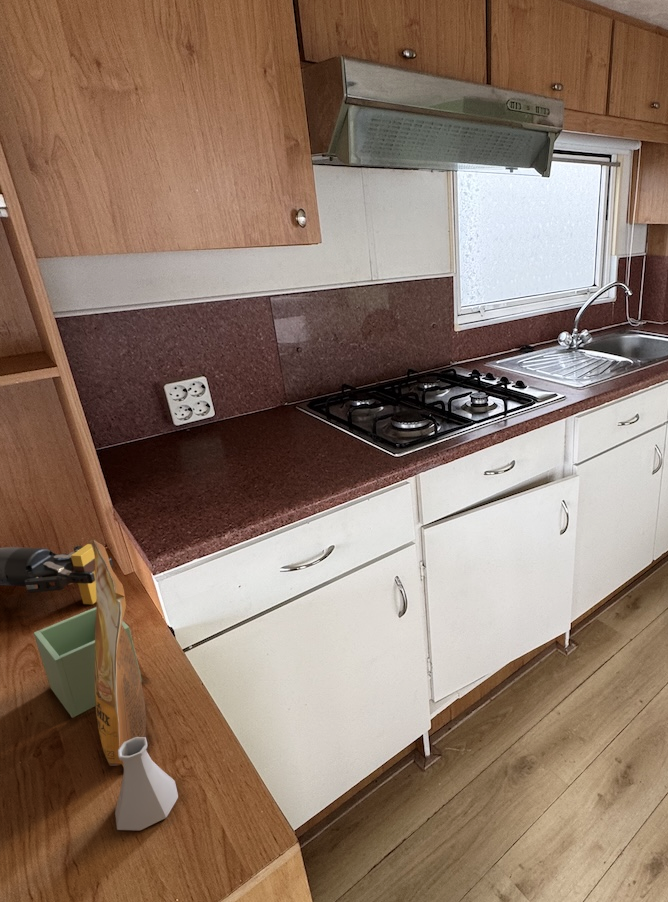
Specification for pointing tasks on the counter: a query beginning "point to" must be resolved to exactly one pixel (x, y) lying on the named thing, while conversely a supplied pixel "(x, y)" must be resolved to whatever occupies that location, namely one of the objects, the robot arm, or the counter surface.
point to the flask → (142, 788)
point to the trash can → (72, 660)
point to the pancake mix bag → (114, 665)
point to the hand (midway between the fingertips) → (101, 570)
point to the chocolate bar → (86, 562)
